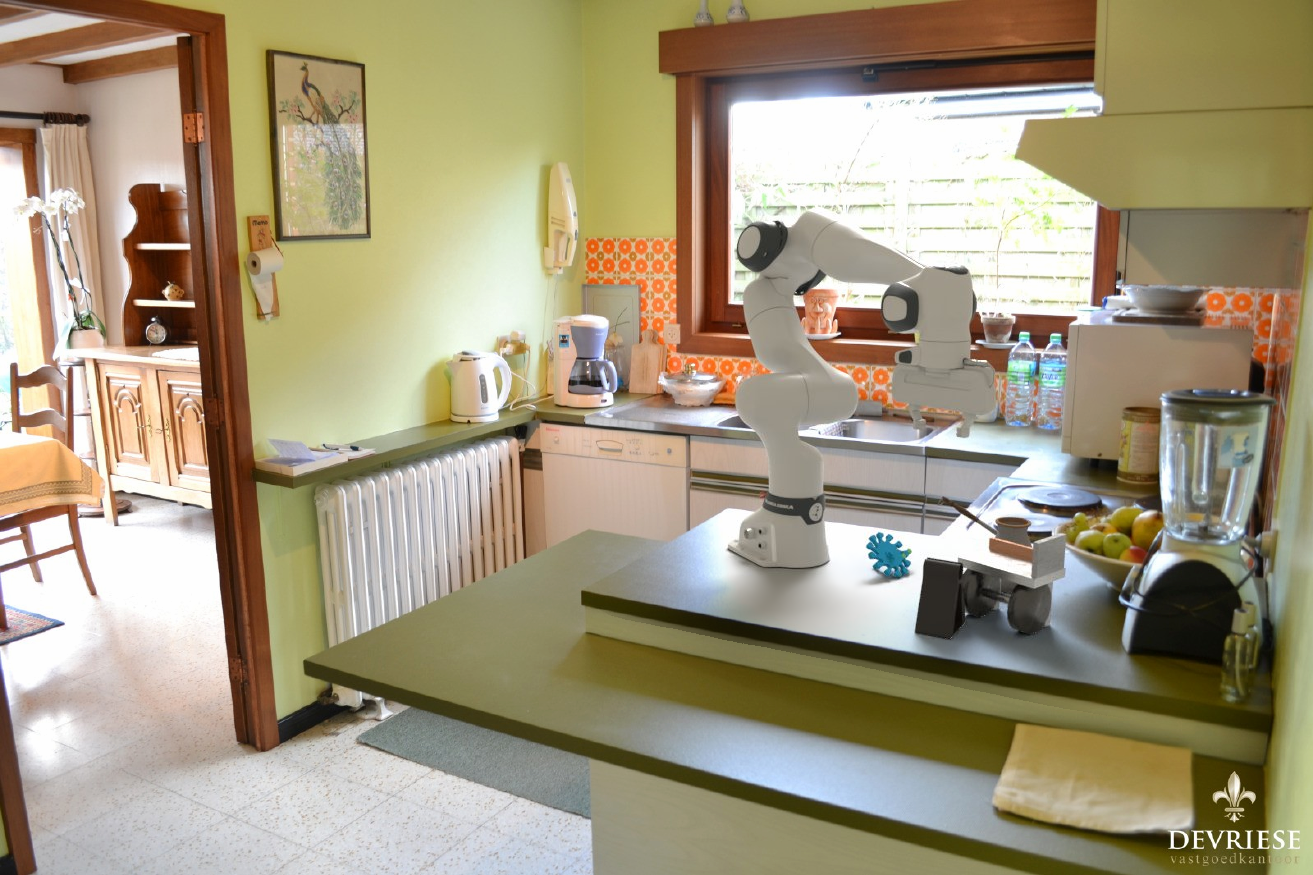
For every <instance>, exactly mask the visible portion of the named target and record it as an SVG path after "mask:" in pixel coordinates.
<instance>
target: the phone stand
mask: <svg viewBox="0 0 1313 875" xmlns="http://www.w3.org/2000/svg"><path fill="white" fill-rule="evenodd" d="M922 566H923V567H922V581H921V586H920V588H921V589H920V593H919V601H918V606H917V613H916V621H915V628H914V633H916V634H920V633H921V634H922V635H924V636H925V635H927V636H931V637H935V636H937V637H936V638H940V637H941V638H940V639H945V638H946V640H951V639H952V638H953V637H954V636H955V635H956V634H957V633H958V632H959V631H960V629H961V628H963V626H964V625H965V624H966V623H967V622H966V620H967V619H966V613H965V604H964V590H963V574H964V567H963V563H959V562H958V561H952V560H945V559H940V558H935V557H933V558H932V557H928V556H927V557H926V558H925V559H924V561H923V565H922ZM964 623H965V624H964ZM963 624H964V625H963ZM962 625H963V626H962ZM960 627H961V628H960ZM959 628H960V629H959ZM956 632H957V633H956ZM955 633H956V634H955ZM954 634H955V635H954ZM953 635H954V636H953ZM952 636H953V637H952ZM951 637H952V638H951ZM950 638H951V639H950Z"/></svg>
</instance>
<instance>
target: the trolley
mask: <svg viewBox="0 0 1313 875" xmlns="http://www.w3.org/2000/svg"><path fill="white" fill-rule="evenodd" d="M1032 544H1033V545H1032V547H1028V546H1024V545H1020V544H1016V543H1013V542H1009V541H1005V540H1001V539H997V538H995V537H994V536H991V537H989V540H988V547H985V548H982V549H979V550H976V551H973V552H970V553H969V552H968V553H966V554H962V555H960V556H957V562H959V563H963V569H964V568H965V570H964V571H963V590H964V604H965V614H969V615H972V616H974V617H976V618H977V617H978V618H983V617H985V616H984V615H986V616H987V615H989V614H990V613H991V611H993V610H995V611H997V610H996V609H998V610H1000V604H1001V603H1002V604H1005V605H1007V609H1006V616H1007V617H1006V618H1007V621H1008V624H1009V626H1010V627H1011V629H1013V630H1016V631H1018V632H1022V633H1025V634H1028V635H1034V634H1033V633H1035V632H1037V633H1038V632H1039V631H1040V630H1042V628H1044V627H1045V628H1047V627H1049V625H1050V626H1051V616H1052V615H1051V614H1052V602H1053V601H1052V600H1053V588H1054V586H1053V585H1054V582H1056V581H1058V580H1061V579H1064V578H1065V577H1066V567H1065V560H1066V559H1065V558H1066V545H1067V534H1066V533H1063V532H1061V533H1056V534H1053V535H1050V536H1047V537H1044V538H1041V539H1038V540H1035V541H1033V542H1032ZM1001 579H1004V580H1007V581H1010V582H1014V583H1017V585H1016V586H1015V588H1014V589H1013V591H1012V593H1010V594H1008V593H1006V592H1002V591H1000V590H1001ZM982 616H983V617H982ZM1035 634H1036V633H1035Z"/></svg>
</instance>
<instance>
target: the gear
mask: <svg viewBox="0 0 1313 875" xmlns="http://www.w3.org/2000/svg"><path fill="white" fill-rule="evenodd" d="M884 536H885V535H884V533H883V532H881V531H878V532H877V533H876V534H873V535H872V534H871V535H870V536H869V537H868V541H869V542H868V543H866V546H865V548H866V549H868V550H870V552H869V553H868V554H867V555H868V559H869V560H876V562H874V564H872V569H874V570H880V569H881V568H882V567H887V568H886V569H884V570H883V574H884V575H886V577H890V575H892V573H893V572H892V571H893V570H894V573H893V577H894V578H895V579H896V578H897V579H900V578H901V577H902V576H905V575H907V574H908V573H909V569H908V568H909V567H910V566H912V562H911V561H910V560H909V559H907V558H908V557H909V555H911V553H913V551H912V549H911V548H907V549H906V550H901V549H900V548H902V547H903V546H904V545H903V543H902V542H901V540H897V541H896V542H895V543H891V542H892V541H893V540H894V537H893V535H892V534H890V533H888V534H887V535H886V536H885V540H884V539H883V537H884ZM877 540H878V541H877ZM892 569H893V570H892Z"/></svg>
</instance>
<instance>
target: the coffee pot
mask: <svg viewBox="0 0 1313 875" xmlns="http://www.w3.org/2000/svg"><path fill="white" fill-rule="evenodd" d="M941 501H942V503H940V502H941ZM944 503H947V504H948V506H949V507H951V508H952V507H953V508H954V509H955V510H956V511H957V512H958V513H959V514H961V515H963V516H964V517H966V518H968V519H970V520H971V521H973V522H974V523H976V524H978V525H980V526H981V527H983V528H984V529H985V530H987V531H989V533H991V534H993V535H994V536H995V537H994V538H997V539H1001V540H1005V541H1009V542H1013V543H1016V544H1020V545H1024V546H1028V547H1032V548H1033V545H1032V543H1031V540H1030V538H1029V535H1028V531H1029V528H1030V527H1031V526H1032V522H1031V521H1030V520H1028V519H1026V518H1024V517H1019V516H1017V517H1016V516H1002V517H998V518H996V519H995V523H996V525H997V529H995V528H993V527H992V526H991V525H989V524H988V523H986V522H984V521H982V520H981V519H980V518H979V517H977V516H975V515H974V514H973V513H972V512H970V511H969V510H968V509H967V508H965V507H963V506H961V505H959V504H957V503H956V502H955V501H954V500H950V499H949V498H948V497H945V496H942V497H941V499H940V500H939V501H938V503H937V505H938V506H942V505H943V504H944ZM1016 585H1017V583H1014V582H1010V581H1007V580H1004V579H1001V590H1000V592H1002V593H1010V594H1011V593H1012V591H1013V589H1014V588H1015V586H1016Z"/></svg>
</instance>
